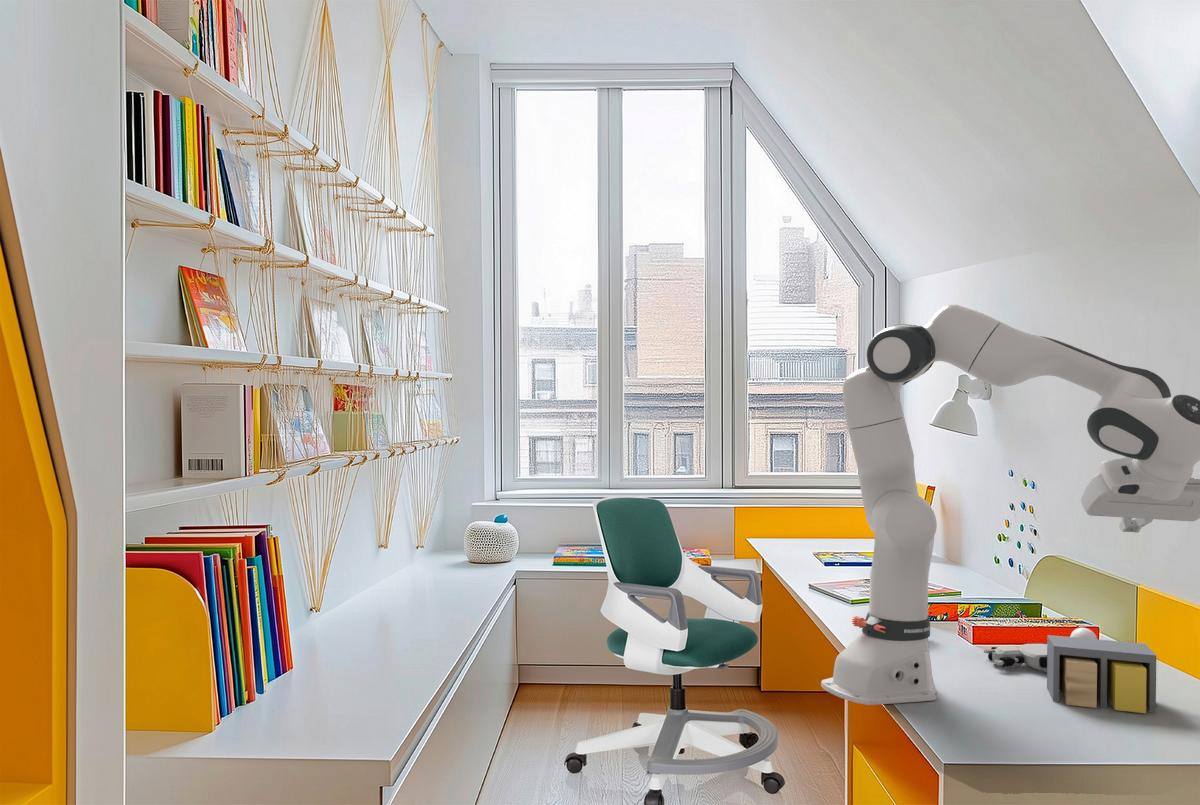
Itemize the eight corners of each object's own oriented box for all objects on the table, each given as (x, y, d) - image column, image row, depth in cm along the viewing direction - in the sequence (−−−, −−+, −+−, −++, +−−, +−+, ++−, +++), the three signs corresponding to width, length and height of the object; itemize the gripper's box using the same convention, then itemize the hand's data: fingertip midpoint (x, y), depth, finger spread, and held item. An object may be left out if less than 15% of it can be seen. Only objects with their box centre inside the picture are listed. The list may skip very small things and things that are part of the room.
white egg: (1086, 657, 204) (1086, 632, 204) (1064, 650, 209) (1064, 626, 209) (1109, 653, 207) (1109, 629, 207) (1087, 647, 212) (1087, 623, 212)
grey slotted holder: (1155, 712, 166) (1156, 655, 166) (1053, 701, 172) (1053, 646, 172) (1144, 698, 175) (1145, 643, 175) (1046, 687, 181) (1047, 635, 181)
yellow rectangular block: (1146, 713, 165) (1146, 669, 165) (1114, 709, 167) (1115, 666, 167) (1136, 700, 173) (1136, 658, 173) (1106, 696, 174) (1107, 655, 174)
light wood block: (1096, 707, 168) (1097, 664, 168) (1066, 704, 169) (1066, 661, 169) (1089, 695, 175) (1089, 653, 175) (1060, 691, 177) (1060, 650, 177)
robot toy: (996, 678, 190) (1073, 677, 188) (994, 656, 190) (1071, 655, 188) (981, 661, 202) (1053, 660, 200) (980, 641, 202) (1052, 640, 200)
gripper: (1210, 467, 162) (1179, 520, 171) (1092, 461, 163) (1067, 514, 172) (1226, 492, 157) (1193, 545, 166) (1104, 485, 159) (1078, 539, 167)
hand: (1128, 529), depth 169 cm, fingers closed
